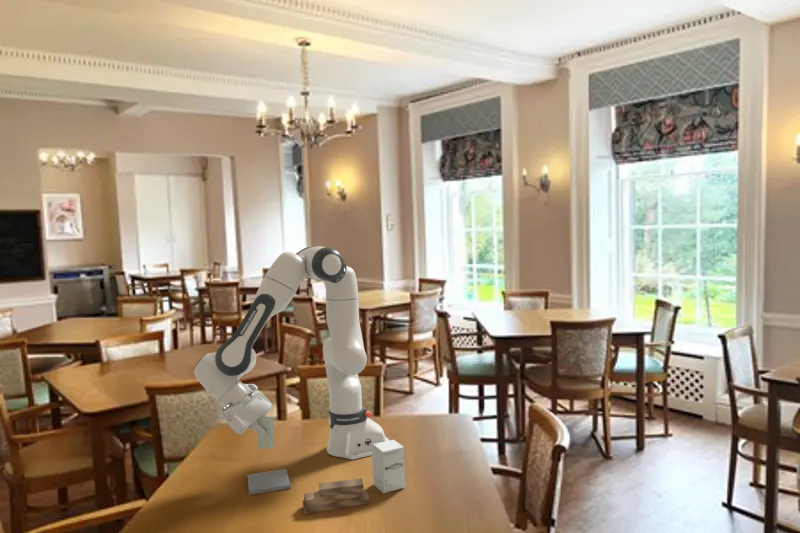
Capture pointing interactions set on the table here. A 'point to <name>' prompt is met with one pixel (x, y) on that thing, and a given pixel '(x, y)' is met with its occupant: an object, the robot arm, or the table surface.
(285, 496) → the table surface
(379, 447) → the supplement box
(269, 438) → the tall block
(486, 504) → the table surface
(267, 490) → the slate mat
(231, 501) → the table surface
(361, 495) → the offcut stack
